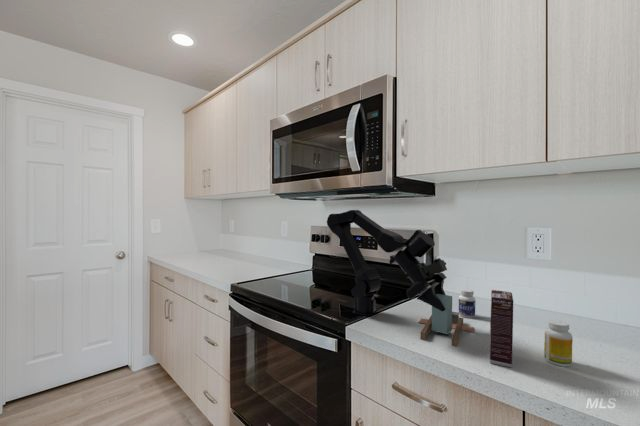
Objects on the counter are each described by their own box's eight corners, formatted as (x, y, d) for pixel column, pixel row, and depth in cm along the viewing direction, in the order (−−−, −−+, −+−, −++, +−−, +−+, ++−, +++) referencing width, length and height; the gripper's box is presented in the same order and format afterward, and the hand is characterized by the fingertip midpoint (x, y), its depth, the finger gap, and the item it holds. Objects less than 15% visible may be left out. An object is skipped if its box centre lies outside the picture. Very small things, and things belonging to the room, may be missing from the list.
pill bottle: (457, 316, 108) (458, 290, 108) (459, 312, 113) (459, 287, 113) (475, 319, 106) (475, 292, 106) (475, 314, 110) (475, 289, 110)
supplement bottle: (538, 357, 79) (539, 318, 78) (559, 356, 79) (559, 318, 79) (556, 367, 73) (556, 326, 73) (578, 367, 73) (578, 326, 73)
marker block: (431, 330, 93) (432, 296, 93) (436, 326, 96) (437, 293, 96) (446, 334, 90) (447, 299, 90) (451, 329, 94) (452, 296, 93)
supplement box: (513, 368, 73) (514, 300, 72) (489, 363, 75) (490, 297, 75) (511, 353, 80) (512, 291, 80) (489, 349, 82) (490, 289, 82)
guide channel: (408, 336, 91) (408, 326, 91) (423, 315, 109) (423, 307, 109) (470, 349, 83) (470, 337, 83) (474, 324, 101) (475, 315, 101)
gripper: (417, 253, 88) (457, 299, 81) (440, 247, 103) (476, 286, 96) (391, 277, 94) (427, 322, 87) (416, 268, 108) (449, 307, 101)
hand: (446, 308), depth 92 cm, fingers closed on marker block, 4 cm apart
